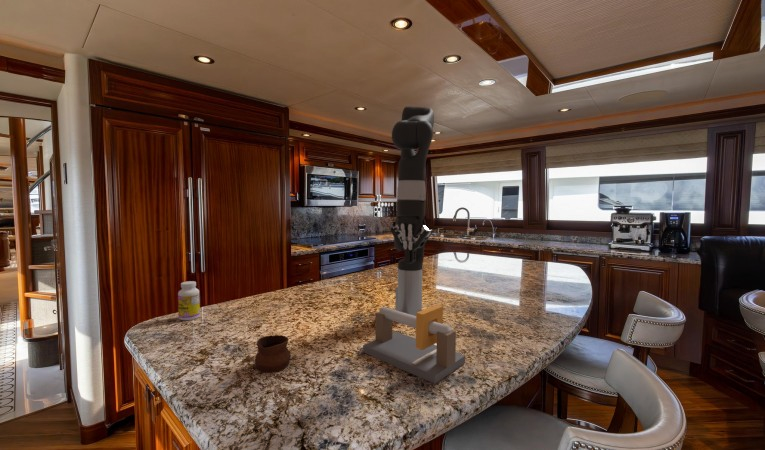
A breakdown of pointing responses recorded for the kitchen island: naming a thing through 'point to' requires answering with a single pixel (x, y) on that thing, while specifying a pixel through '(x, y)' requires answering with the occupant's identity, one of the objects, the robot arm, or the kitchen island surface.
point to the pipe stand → (414, 347)
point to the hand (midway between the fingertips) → (410, 263)
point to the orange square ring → (427, 326)
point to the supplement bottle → (188, 301)
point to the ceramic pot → (271, 354)
